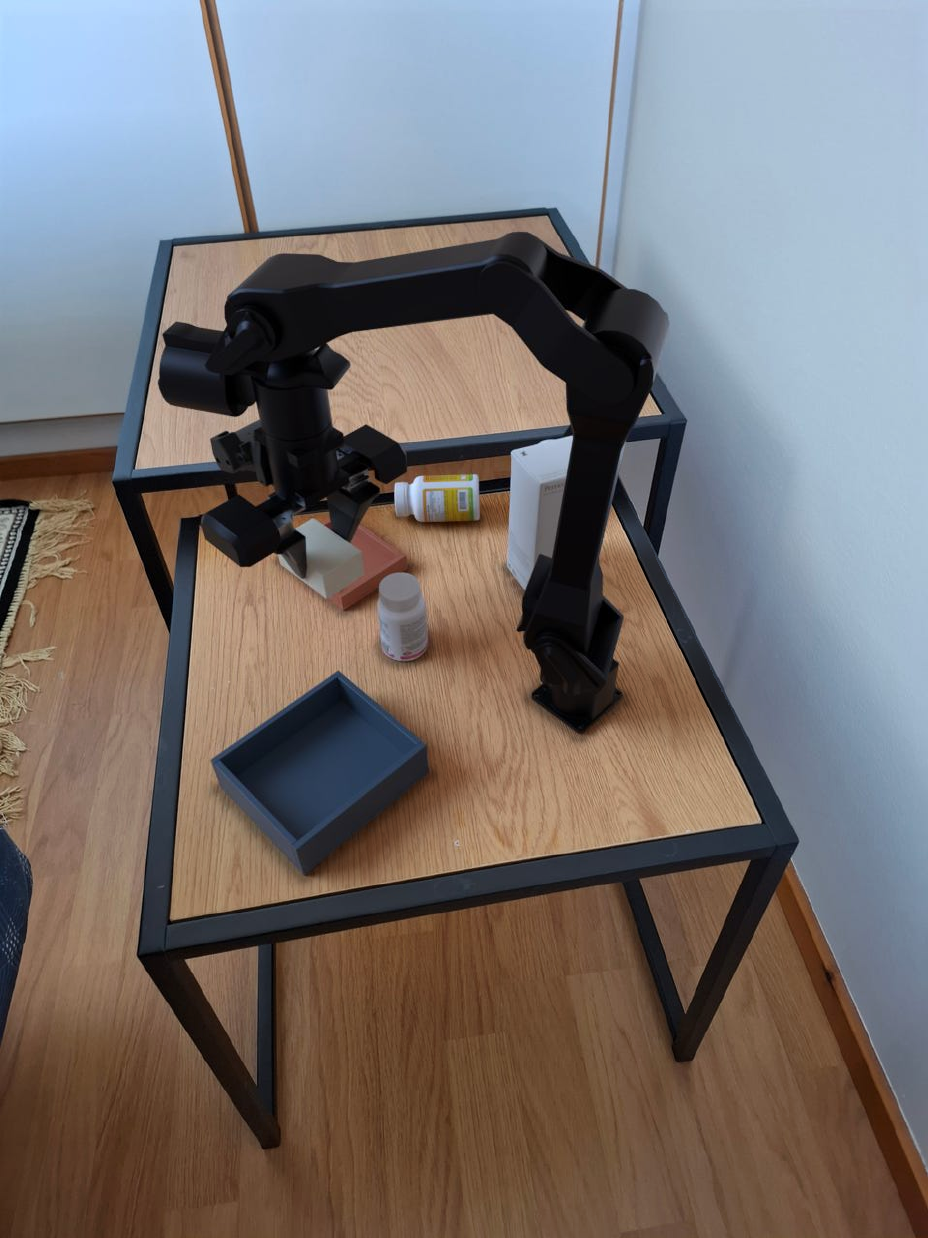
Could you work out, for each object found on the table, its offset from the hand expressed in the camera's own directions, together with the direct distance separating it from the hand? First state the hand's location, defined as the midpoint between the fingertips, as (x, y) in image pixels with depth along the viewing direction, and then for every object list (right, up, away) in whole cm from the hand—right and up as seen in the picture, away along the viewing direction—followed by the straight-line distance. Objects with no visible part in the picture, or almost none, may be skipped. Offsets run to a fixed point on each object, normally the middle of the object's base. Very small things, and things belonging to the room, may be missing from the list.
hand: (321, 562), depth 82 cm
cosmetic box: (+23, 0, +15) cm, 27 cm away
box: (+1, -20, -4) cm, 20 cm away
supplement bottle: (+15, +9, +20) cm, 26 cm away
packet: (0, -1, +1) cm, 1 cm away
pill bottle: (+7, -8, +8) cm, 13 cm away
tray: (0, +1, +16) cm, 16 cm away
